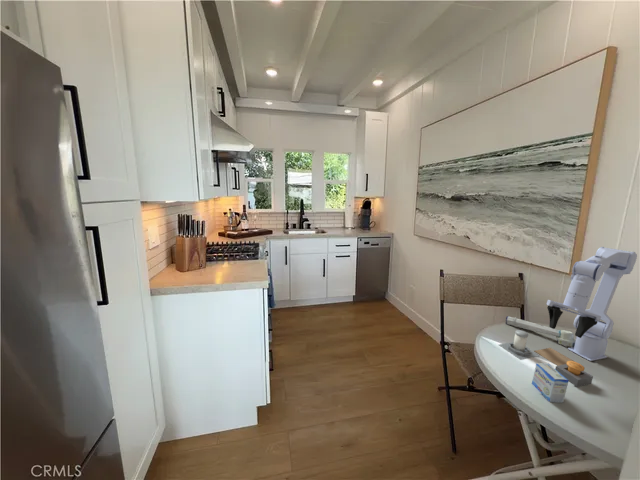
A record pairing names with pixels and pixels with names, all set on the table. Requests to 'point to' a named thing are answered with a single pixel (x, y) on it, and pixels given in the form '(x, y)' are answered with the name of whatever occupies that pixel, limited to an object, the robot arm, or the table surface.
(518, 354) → the cartridge socket
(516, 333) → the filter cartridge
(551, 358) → the tan board
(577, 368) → the release button
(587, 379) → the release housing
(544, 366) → the medicine box
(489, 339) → the table surface
